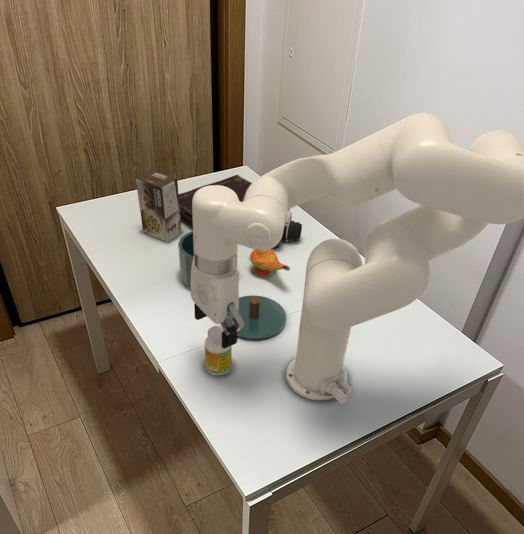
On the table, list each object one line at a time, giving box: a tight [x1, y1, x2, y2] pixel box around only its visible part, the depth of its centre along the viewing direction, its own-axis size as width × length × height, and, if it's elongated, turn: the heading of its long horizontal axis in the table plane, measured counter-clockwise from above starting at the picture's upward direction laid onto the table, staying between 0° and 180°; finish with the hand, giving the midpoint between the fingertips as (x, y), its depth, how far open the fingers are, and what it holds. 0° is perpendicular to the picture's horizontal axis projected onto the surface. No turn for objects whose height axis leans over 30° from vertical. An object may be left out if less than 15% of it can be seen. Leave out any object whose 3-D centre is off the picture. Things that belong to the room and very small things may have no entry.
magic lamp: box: [249, 249, 291, 277], centre depth 132 cm, size 7×18×11 cm, turn 33°
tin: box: [177, 230, 194, 290], centre depth 130 cm, size 14×14×10 cm
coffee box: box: [135, 169, 182, 243], centre depth 142 cm, size 9×6×16 cm
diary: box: [178, 174, 253, 230], centre depth 155 cm, size 19×25×5 cm
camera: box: [270, 209, 303, 251], centre depth 145 cm, size 13×8×9 cm, turn 168°
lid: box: [226, 295, 287, 340], centre depth 121 cm, size 15×15×6 cm
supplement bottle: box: [204, 325, 233, 376], centre depth 108 cm, size 5×5×10 cm
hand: (215, 330), depth 104 cm, fingers open, 9 cm apart
